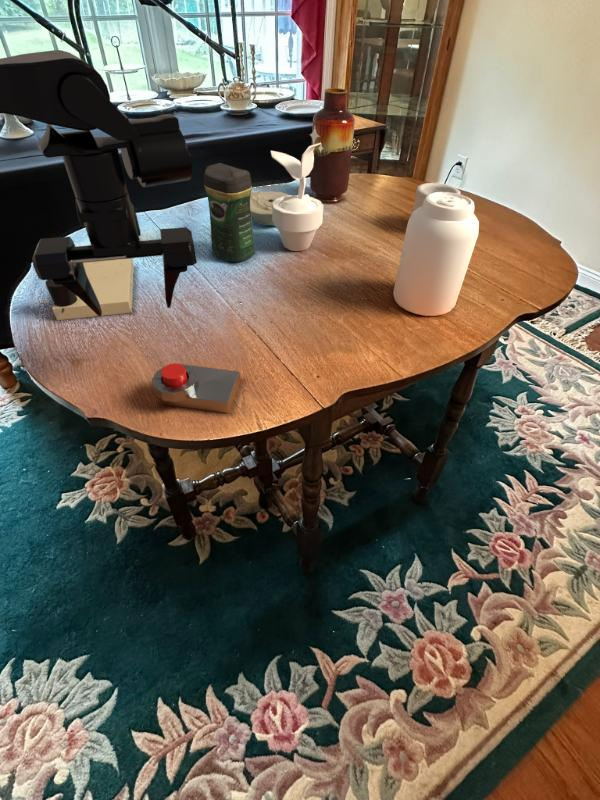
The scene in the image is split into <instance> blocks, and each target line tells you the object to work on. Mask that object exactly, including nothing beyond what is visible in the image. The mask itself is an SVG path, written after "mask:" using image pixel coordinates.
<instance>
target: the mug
mask: <svg viewBox="0 0 600 800" xmlns="http://www.w3.org/2000/svg"><path fill="white" fill-rule="evenodd" d="M435 192H452V193H457V194H461V190H460V189H458V188H457V187H455V186H453V185H450V184H446V183H440V182H426V183H422V184H420V185H418V186H417V187H416V190H415V198H414V203H413V207H412V211H411V214H412V213H413V211H415V210H416V209H418V208H419V207H421V206H422V205H423V202H424V199H425V198H426V196H427V195H429V194H431V193H435ZM461 195H462V194H461Z"/></svg>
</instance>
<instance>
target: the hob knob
mask: <svg viewBox="0 0 600 800" xmlns="http://www.w3.org/2000/svg"><path fill="white" fill-rule="evenodd" d="M45 286H46V289H47V291H48V293H49V296H50V298H51V300H52V302H53V305H54V304H55V305H56V306H59V307H65V306H69V305H72V304H74V303H75V302H76V301H77V296H76V295H75V294H74V293H72V292H71V291H70V290H68V289H67V288H66V287H64V286H63V285H55V284H54V283H53V282H52V279H51V280H45Z"/></svg>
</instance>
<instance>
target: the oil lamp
mask: <svg viewBox="0 0 600 800" xmlns="http://www.w3.org/2000/svg"><path fill="white" fill-rule="evenodd" d="M284 196H291V194H289V193H285V192H281V191H252V192H251V196H250V211H251V218H252V219H254V221H255V222H257V223H258V224H261V225H263V226H274V224H273V221H272V203H273V202H274V201H275V200H276V199H277V198H280V197H284Z"/></svg>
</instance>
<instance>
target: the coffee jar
mask: <svg viewBox="0 0 600 800" xmlns="http://www.w3.org/2000/svg"><path fill="white" fill-rule="evenodd" d="M203 182H204V185H203V186H204V191H205V193H206V197H207V201H208V211H209V223H210V242H211V243H210V244H211V251H212V254H214V255H215V256H216V257H219V258H221V259H223V260H225V261H228V262H231V263H238V262H244V261H247V260H249V259H251V258H252V257H253V256H254V255H255V253H256V251H255V238H254V231H253V224H252V223H253V221H252V217H251V211H250V196H251V192H253V186H252V179H251V173H250V172H249V171H248V170H246V169H242V168H238V167H234V166H231V165H228V164H224V163H222V162H218V163H215V164H211V165H208V166H206V168H205V170H204V173H203Z"/></svg>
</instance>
